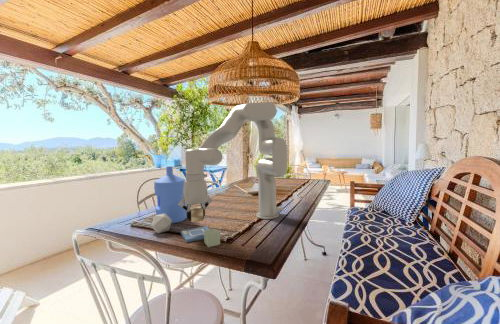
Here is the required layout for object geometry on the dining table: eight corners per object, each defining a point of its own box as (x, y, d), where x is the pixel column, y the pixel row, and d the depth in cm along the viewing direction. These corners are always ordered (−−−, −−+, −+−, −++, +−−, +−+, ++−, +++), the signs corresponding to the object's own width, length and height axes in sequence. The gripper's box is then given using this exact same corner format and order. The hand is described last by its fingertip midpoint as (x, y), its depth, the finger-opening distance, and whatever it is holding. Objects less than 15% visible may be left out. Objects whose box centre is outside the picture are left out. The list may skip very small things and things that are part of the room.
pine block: (200, 217, 110) (199, 206, 110) (203, 220, 106) (203, 209, 105) (188, 218, 108) (188, 207, 108) (191, 222, 104) (191, 210, 103)
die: (168, 227, 119) (154, 213, 117) (178, 221, 115) (165, 206, 113) (157, 239, 112) (143, 224, 110) (168, 233, 108) (154, 218, 106)
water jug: (191, 215, 136) (189, 165, 134) (180, 225, 121) (178, 168, 118) (164, 214, 138) (161, 165, 135) (150, 224, 122) (147, 168, 120)
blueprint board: (206, 228, 115) (206, 226, 115) (214, 236, 106) (214, 233, 106) (180, 233, 110) (180, 230, 110) (186, 242, 100) (186, 239, 100)
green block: (215, 240, 102) (215, 228, 102) (220, 244, 98) (219, 232, 98) (204, 242, 100) (204, 230, 100) (208, 247, 96) (207, 235, 95)
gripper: (211, 175, 113) (211, 213, 114) (173, 178, 105) (174, 219, 106) (216, 177, 106) (217, 218, 108) (176, 180, 98) (177, 224, 100)
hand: (196, 218), depth 107 cm, fingers closed on pine block, 4 cm apart
